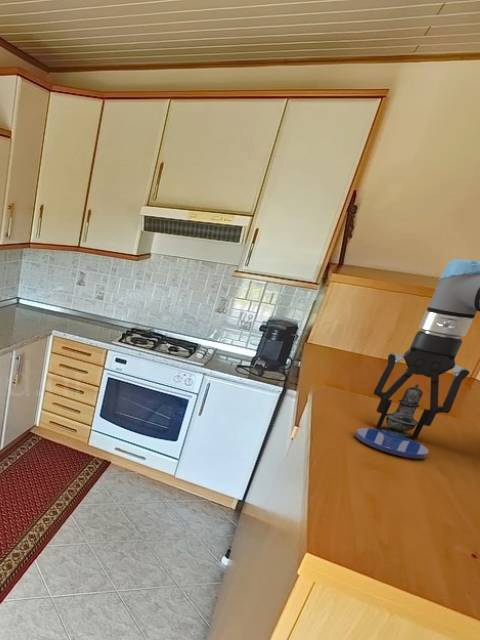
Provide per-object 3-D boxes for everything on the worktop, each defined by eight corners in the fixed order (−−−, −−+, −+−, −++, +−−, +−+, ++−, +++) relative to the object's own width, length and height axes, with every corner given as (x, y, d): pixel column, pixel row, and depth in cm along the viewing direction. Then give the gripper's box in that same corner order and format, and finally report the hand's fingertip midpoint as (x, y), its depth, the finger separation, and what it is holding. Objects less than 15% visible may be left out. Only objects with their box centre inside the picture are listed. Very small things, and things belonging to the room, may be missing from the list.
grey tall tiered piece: (393, 427, 115) (415, 380, 111) (418, 439, 110) (442, 389, 106) (373, 426, 114) (394, 379, 110) (397, 438, 109) (420, 388, 105)
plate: (441, 462, 98) (444, 456, 98) (386, 458, 97) (389, 452, 97) (390, 436, 110) (393, 430, 109) (340, 432, 109) (343, 426, 108)
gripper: (384, 325, 107) (345, 421, 115) (504, 347, 96) (451, 452, 103) (385, 322, 112) (348, 413, 120) (499, 343, 101) (450, 442, 109)
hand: (396, 431), depth 112 cm, fingers closed on grey tall tiered piece, 6 cm apart
